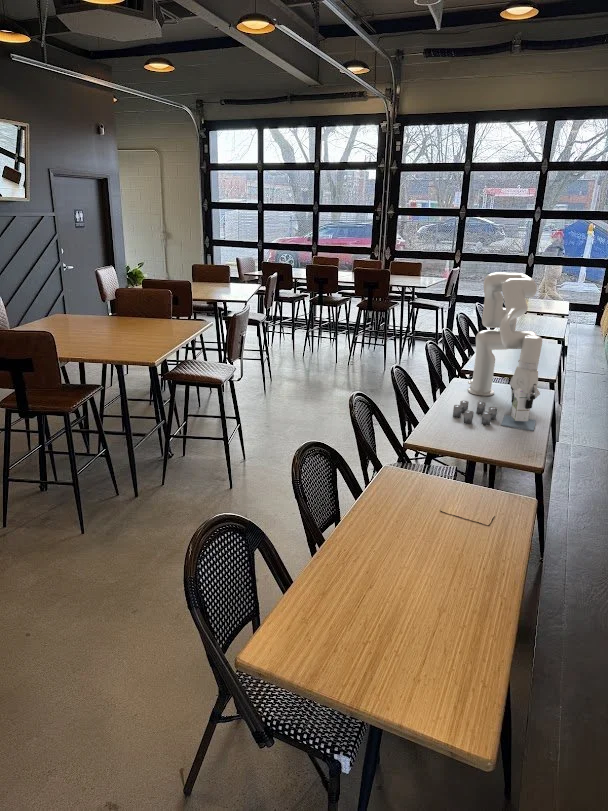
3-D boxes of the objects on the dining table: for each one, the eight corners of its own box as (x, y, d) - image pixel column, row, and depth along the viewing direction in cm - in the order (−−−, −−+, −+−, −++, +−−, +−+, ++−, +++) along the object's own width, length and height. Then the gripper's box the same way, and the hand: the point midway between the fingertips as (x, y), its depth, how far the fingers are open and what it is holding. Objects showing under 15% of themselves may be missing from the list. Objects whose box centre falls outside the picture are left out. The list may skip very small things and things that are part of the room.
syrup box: (528, 421, 231) (534, 389, 226) (514, 421, 231) (519, 388, 226) (523, 416, 236) (529, 384, 231) (509, 416, 236) (515, 384, 231)
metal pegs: (445, 413, 244) (446, 402, 243) (475, 408, 251) (476, 398, 249) (472, 427, 228) (474, 416, 227) (503, 422, 235) (505, 412, 233)
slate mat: (501, 425, 231) (501, 424, 231) (504, 416, 242) (504, 414, 242) (533, 431, 226) (533, 430, 226) (535, 421, 237) (535, 419, 237)
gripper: (506, 360, 232) (500, 399, 238) (537, 371, 217) (529, 413, 223) (520, 359, 234) (513, 397, 241) (551, 370, 219) (543, 411, 226)
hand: (521, 405), depth 232 cm, fingers closed on syrup box, 7 cm apart
